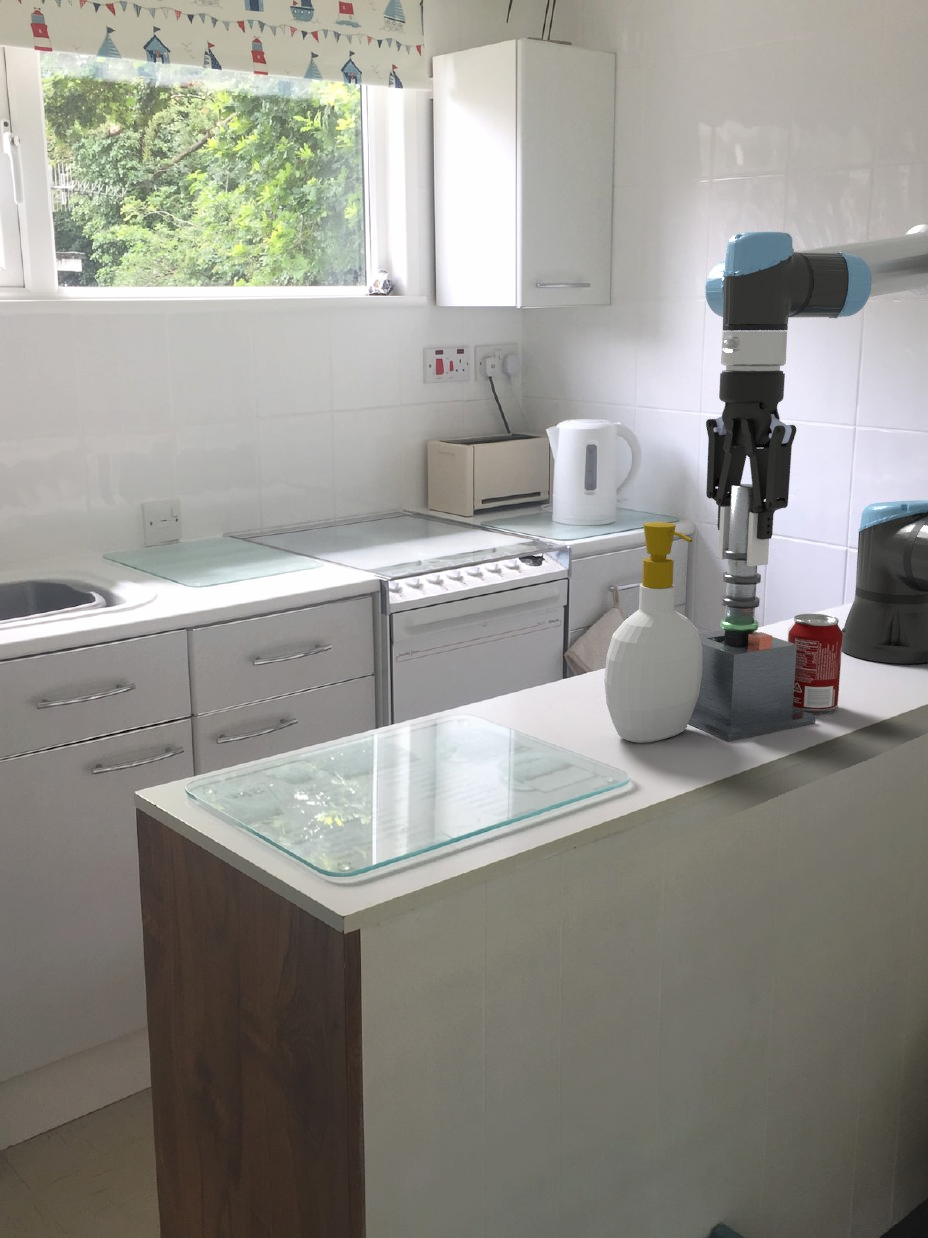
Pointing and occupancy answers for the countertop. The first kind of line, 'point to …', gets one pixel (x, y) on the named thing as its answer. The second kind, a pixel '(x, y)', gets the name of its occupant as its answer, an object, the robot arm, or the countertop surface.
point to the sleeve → (747, 687)
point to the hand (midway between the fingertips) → (742, 560)
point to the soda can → (816, 662)
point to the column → (739, 573)
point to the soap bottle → (654, 653)
